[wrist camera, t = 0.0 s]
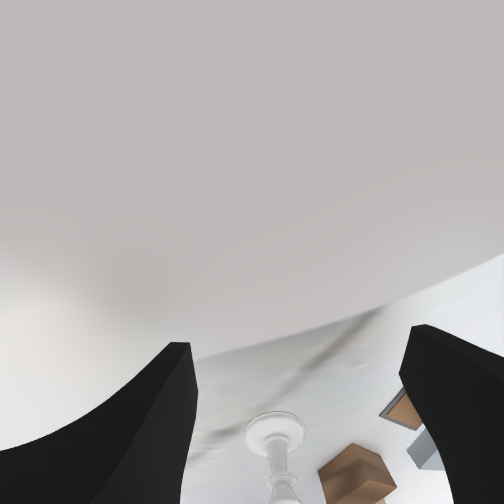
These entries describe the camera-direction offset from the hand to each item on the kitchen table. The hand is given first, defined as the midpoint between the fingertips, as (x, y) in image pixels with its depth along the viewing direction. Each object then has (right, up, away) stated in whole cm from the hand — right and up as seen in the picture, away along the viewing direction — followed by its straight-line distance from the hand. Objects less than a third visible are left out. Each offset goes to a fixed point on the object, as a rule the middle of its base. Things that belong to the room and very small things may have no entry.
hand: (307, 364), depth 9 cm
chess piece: (0, -11, +12) cm, 16 cm away
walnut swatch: (+13, -10, +12) cm, 20 cm away
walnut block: (+8, -17, +13) cm, 22 cm away
